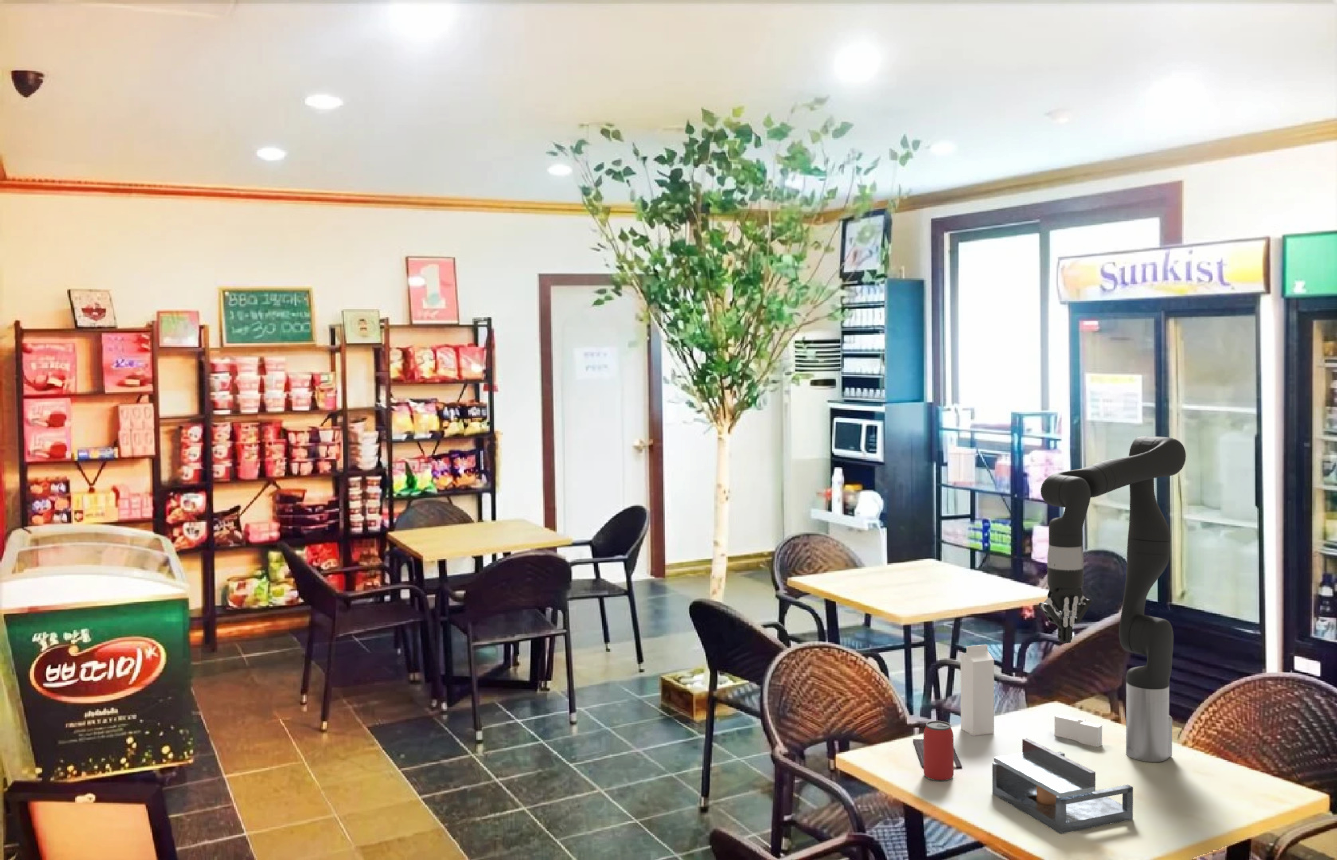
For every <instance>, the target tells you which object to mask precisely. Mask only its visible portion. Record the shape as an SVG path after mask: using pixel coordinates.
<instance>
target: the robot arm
mask: <svg viewBox="0 0 1337 860" xmlns="http://www.w3.org/2000/svg"><path fill="white" fill-rule="evenodd" d="M1128 453H1129V454H1128V456H1124V457H1118V458H1111V459H1106V460H1103V461H1098V462H1096V463H1092V464H1089V465H1087V466H1084V467H1083V468H1080V469H1079V468H1077V469H1072V470H1071V469H1070V470H1067V471H1066V470H1065V471H1061V472H1057V473H1053V474H1051V475H1049V476H1047V477H1046V479H1045V480H1043V482H1042V484H1041V487H1040V496H1041V498H1042V499H1043V501H1044V502H1045V503H1046V504H1047V505H1050V506H1053V507H1059V508H1060V507H1061V508H1064V510H1063V514H1062V516H1061V517H1054V518H1052V519H1050V521H1049V524H1048V549H1047V550H1048V551H1047V555H1046V556H1047V566H1046V568H1047V571H1046V572H1047V574H1046V576H1047V586H1048V588H1049V589H1048V592H1047V599H1046V600H1044V601H1043V602H1042V601H1040V602H1039V603H1038V607H1039V608H1040V610H1041V611H1042V612H1043V614H1044V615H1045V617H1046V618H1047V620H1048V621H1049V623H1051V624H1054V625H1056V627H1057V639H1058V641H1059V643H1062V644H1070V643H1071V642H1072V640H1073V627H1074V626H1075V624H1079V623H1081V622H1082V619H1083V618H1084V616H1085V615H1086V613H1087V611H1088V609H1089V608H1090V607H1091V605H1092V600H1091V599H1088V598H1086V597H1085V596H1084V592H1083V589H1082V588H1083V587H1084V551H1083V550H1084V549H1083V527H1084V524H1085V520H1086V517H1087V513H1088V509H1089V506H1090V502H1091V498H1096V497H1100V496H1102V495H1105V494H1107V493H1110V492H1113V491H1116V490H1118V489H1120V488H1124V487H1126V486H1129V519H1128V520H1129V521H1128V523H1129V524H1128V533H1127V544H1126V545H1127V547H1126V574H1125V586H1124V592H1123V599H1122V606H1121V613H1120V618H1119V627H1118V638H1119V639H1118V640H1119V644H1120V646H1121V647H1122V649H1123V650H1125V652H1126V651H1127V652H1129V653H1133V654H1136V655H1137V654H1138V655H1142V656H1146V657H1147V659H1146V665H1142V666H1141V665H1140V666H1135V667H1131V668H1129V669H1128V670H1127V671H1126V687H1125V688H1126V691H1125V692H1126V693H1125V694H1126V698H1125V699H1126V702H1125V703H1126V706H1125V707H1126V709H1125V710H1126V712H1125V717H1126V720H1125V722H1126V723H1125V726H1126V728H1125V736H1126V737H1125V754H1126V755H1127V756H1128V757H1130V758H1131V759H1135V760H1138V761H1142V762H1151V763H1160V762H1161V763H1162V762H1165V761H1167V760H1168V759H1169V758H1171V757H1172V756H1173V717H1172V716H1171V715H1170V678H1171V675H1172V669H1173V668H1172V667H1173V653H1174V639H1175V638H1174V628H1173V626H1172V624H1171V622H1170V621H1169V620H1167V619H1165V618H1161V617H1156V616H1151V615H1146V614H1145V609H1146V608H1145V607H1146V601H1147V598H1148V595H1149V592H1150V591H1151V588H1152V587H1153V585H1154V584H1155V583H1156V582H1157V580H1158V579H1159V578H1160V576H1162V574H1163V573H1164V572H1165V570H1166V568H1167V566H1168V564H1169V561H1170V554H1171V531H1170V527H1169V525H1168V523H1167V520H1166V517H1165V516H1164V514H1163V513H1162V510H1161V508H1160V506H1159V504H1158V502H1157V498H1156V495H1155V493H1156V492H1155V479H1157V478H1165V477H1171V476H1175V475H1177V474H1178V473H1180V472H1181V471H1182V470H1183V468H1184V466H1185V463H1186V459H1187V452H1186V448H1185V446H1184V445H1183V443H1182V442H1181V441H1179V440H1178V439H1176V438H1173V437H1167V436H1166V437H1165V436H1155V435H1154V436H1151V435H1150V436H1149V435H1142V436H1141V435H1140V436H1138V437H1136V438H1135V439H1134V440H1133V441H1132V443H1131V445H1130V448H1129V452H1128Z"/></svg>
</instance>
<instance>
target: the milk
mask: <svg viewBox="0 0 1337 860" xmlns="http://www.w3.org/2000/svg"><path fill="white" fill-rule="evenodd" d="M960 729H961V730H963V731H964V732H966V733H968V734H969V735H971V736H973V737H975V736H983V735H991V734H994V733H995V659H994V658H993V657H992V655H991V653H990V652H989V650H988V644H979V645H968V646H966V652H964V654H962V655H960Z"/></svg>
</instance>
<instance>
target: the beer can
mask: <svg viewBox="0 0 1337 860" xmlns="http://www.w3.org/2000/svg"><path fill="white" fill-rule="evenodd" d="M923 739H924V768H923V774H924V776H925V777H926V778H927V779H929V780H932V781H936V782H937V781H938V782H944V781H948V780H951V779H952V778H953V777H954V771H955V769H954V749H955V748H954V732H953V730H952V725H951V724H950V723H949V722H947V721H941V720H930V721H927V722H926V723H925V727H924V730H923Z"/></svg>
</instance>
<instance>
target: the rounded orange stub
mask: <svg viewBox="0 0 1337 860" xmlns="http://www.w3.org/2000/svg"><path fill="white" fill-rule="evenodd" d="M1056 798H1057V796H1056V795H1054V794H1052V793H1050V792H1048V791H1047V790H1045V789H1043V788H1041V787H1039V786H1037V803H1039V804H1041V805H1042V806H1044V807H1045V806H1051V805H1056Z"/></svg>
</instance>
